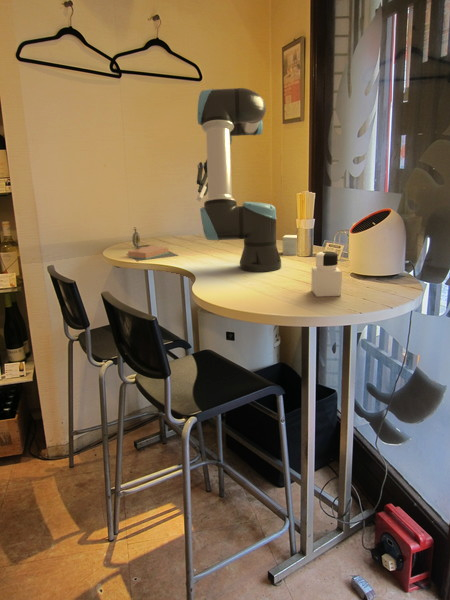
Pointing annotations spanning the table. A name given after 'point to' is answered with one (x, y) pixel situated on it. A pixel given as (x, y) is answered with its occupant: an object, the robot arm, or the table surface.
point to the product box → (290, 245)
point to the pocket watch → (137, 240)
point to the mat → (158, 256)
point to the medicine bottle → (326, 275)
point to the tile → (148, 252)
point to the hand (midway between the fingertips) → (199, 198)
